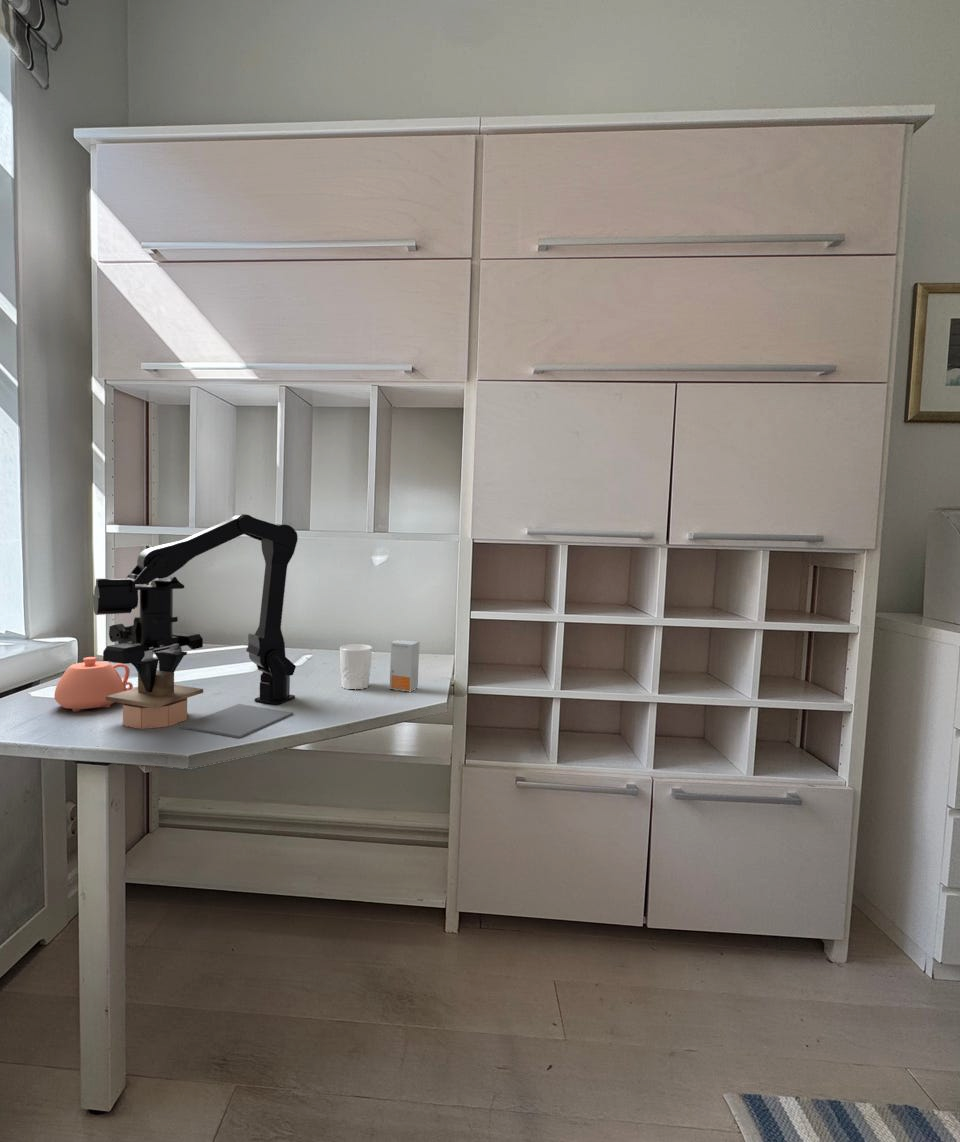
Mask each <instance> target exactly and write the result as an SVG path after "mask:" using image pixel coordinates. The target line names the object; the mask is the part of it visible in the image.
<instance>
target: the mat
mask: <svg viewBox="0 0 960 1142" xmlns="http://www.w3.org/2000/svg"><path fill="white" fill-rule="evenodd" d="M292 714H293V715H294V712H293V711H287V710H280V709H275V708H269V707H268V708H267V707H261V706H253V705H249V704H242V703H237V704H235V705H232V706H230V707H229V706H228V707H226V708H223V709H221V710H218V711H216V712H213V713H210V714H207V715H204V716H202V717H200V718H197V719H194V720H191V721H188V722H186V723H182V724H181V725H179V728H180V729H184V730H185V729H186V730H191V731H197V732H203V733H209V734H212V735H213V734H214V735H218V736H225V737H230V738H237V739H241V738H243V737H246V736H248V735H249V733H250V734H252V733H255V732H256V730H257V731H259V730H261V729H263V728H265V726H266V727H268V726H270V725H272V724H274V722H275V723H276V721H277V722H279V721H281V720H283V718H284V719H286V718H289V717H290V716H292ZM278 720H279V721H278ZM267 725H268V726H267ZM260 728H261V729H260ZM258 729H259V730H258ZM254 731H255V732H254Z"/></svg>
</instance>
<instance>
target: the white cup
mask: <svg viewBox="0 0 960 1142" xmlns="http://www.w3.org/2000/svg"><path fill="white" fill-rule="evenodd" d="M372 654H373V646H371V645H368V644H359V643H357V644H355V643H351V644H344V645H341V646H340V647H339V663H340V664H339V665H340V678H341V682H340V683H341V688H342V687H343V688H342V689H344V688H345V689H344V690H348V689H355V690H354V691H357V690H356V689H361V690H365V689H364V688H366V689H367V688H369V687H368V686H370V675H371V671H372V670H371V667H372Z"/></svg>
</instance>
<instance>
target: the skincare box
mask: <svg viewBox="0 0 960 1142" xmlns="http://www.w3.org/2000/svg"><path fill="white" fill-rule="evenodd" d="M390 644H391V645H390V665H389V667H390V671H389V690H390V689H395V690H394V691H398V690H404V691H413V690H414V689H416V688H417V687H418V686H419V661H420V660H419V659H420V641H413V640H402V639H396V640H394V641H392V642H391V643H390ZM417 689H418V688H417ZM417 689H416V690H417ZM404 691H403V692H404ZM414 691H415V690H414ZM414 691H413V692H414Z"/></svg>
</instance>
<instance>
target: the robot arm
mask: <svg viewBox="0 0 960 1142" xmlns="http://www.w3.org/2000/svg"><path fill="white" fill-rule="evenodd" d="M243 535H245V536H248V537H249V538H252V539H254V540H257V541H260V542H261V552H262V555H263V558H264V559H263V560H264V563H265V564H264V566H265V567H264V576H263V577H264V578H263V586H262V593H261V594H262V595H261V603H260V604H261V605H260V613H259V615H260V616H259V623H258V628H257V630H256V632H255V633H248V637H247V638H248V641H247V642H248V645H247V648H246V649H245V652H246V653H248V657H249V659H250V661H251V662H252V663H253V664H255V665H256V667H257V670H258V671H260V672H261V674H260V679H259V680H260V682H259V696H258V697H255V698H254V702H259V703H266V704H271V705H280V704H282V703H286V702H287V701H290V700H292V699H295V698H296V695H294V694H290V691H291V689H290V688H291V687H290V686H291V685H290V682H291V676H293V675H294V673H295V670H296V668H297V666H296V664H295V663H293V661H291V660H289V659H288V657H286V644H285V643H286V642H285V640H284V635H283V631H282V621H283V618H282V617H283V612H284V611H283V610H284V608H283V607H284V601H285V600H284V598H285V592H286V591H285V590H286V579H287V570H288V565H289V563H290V562H291V559H292V557H293V556H294V555H295V550H296V547H297V543H298V539H299V536H298V533H297V531H296V530H295V528H294V527H293V526H291V525H288V524H281V523H280V524H279V523H277V524H274V523H271V522H268V521H265V520H262V519H259V518H256V517H253V516H251V515H250V514H243V513H241V514H240V513H239V514H235V515H234V516H232V517H231V518H229V519H227V520H225V521H222V522H220V523H217V524H216V525H213V526H212V527H211V526H210V527H209V528H207V529H204V530H202V531H200V532H197V533H195V534H193V535H190V536H188V537H186V538H184V539H181V540H178V541H177V540H176V541H174V542H168V543H164V544H159V545H156V546H153V547H149V548H146V549H144V550H142V551H140V553H138V558H137V561H136V562H137V564H136V565H135V566H134V567H133V569H132V570H131V571H130V572H129V574H128V575H127V576H126V577H124V578H104V577H100V578H99V577H97V578H95V586H94V591H93V594H92V608H93V613H94V615H95V616H102V615H121V614H131V613H132V612H133V611H132V610H136V608H138V605H139V616H135V617H134V618H133V624H132V625H129V626H125V625H124V624H123V623H117V624H113V625H110V626H109V629H108V636H109V640H110V642H112V643H116V642H117V643H116V644H111V645H107V646H106V647H105V648H104V649H103V652H102V662H108V663H115V664H117V663H121V664H126V665H127V664H128V665H129V664H131V665H133V667H135V670H136V671H137V674H138V673H139V676H140V678H141V680H142V683H143V685H144V687H145V690H146V692H152V690H153V686H154V682H155V676H156V671H157V669H158V668H159V669H158V670H159V671H166V672H173V673H174V674H175V671H176V670H177V668H178V666H179V665H180V663H181V661H182V660H183V659H184V657H185V656H186V655H188V651H183V647H185V646H188V648H189V649H190V650H196V649H200V648H201V649H202V648H203V645H204V644H203V643H204V641H203V640H204V638H203V636H201V634H200V633H194V632H193V633H192V632H185V631H182V632H177V633H173V632H174V631H173V629H174V626H173V625H174V623H177V622H179V621H178V620H179V619H178V618H179V617H178V616H177V615H176V616H175V615H174V614H173V613H174V610H173V609H174V590H181V589H185V584H183V583H182V582H180V581H179V580H178V578H177V576H173V574H174V573H176V572H177V571H179V570H181V569H182V568H184V566H185V565H186V564H187V563H188V562H190V561H191V560H193V559H195V557H198V556H200V555H201V554H204V553H206V552H208V551H210V550H212V549H214V548H216V547H219V546H222V545H223V544H226V543H227V542H230V541H232V540H234V539H236V538H238V537H240V536H243ZM168 577H169V578H168ZM166 578H168V579H166ZM156 579H160V580H156ZM161 579H163V580H161ZM148 584H150V585H148ZM154 655H155V656H156V657H155V658H154Z"/></svg>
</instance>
